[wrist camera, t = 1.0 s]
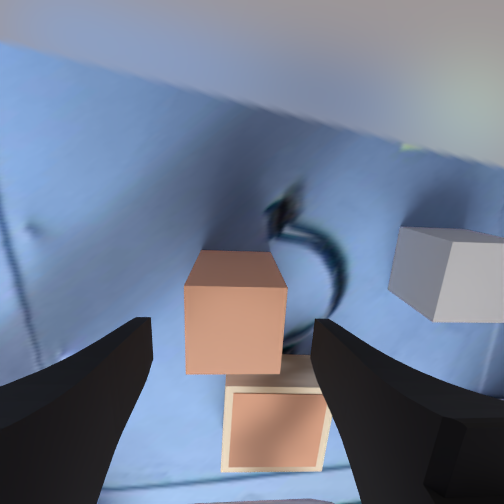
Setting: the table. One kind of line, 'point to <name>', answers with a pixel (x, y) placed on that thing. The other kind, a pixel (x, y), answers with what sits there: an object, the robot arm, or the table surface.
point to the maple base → (275, 420)
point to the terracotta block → (234, 313)
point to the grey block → (450, 274)
